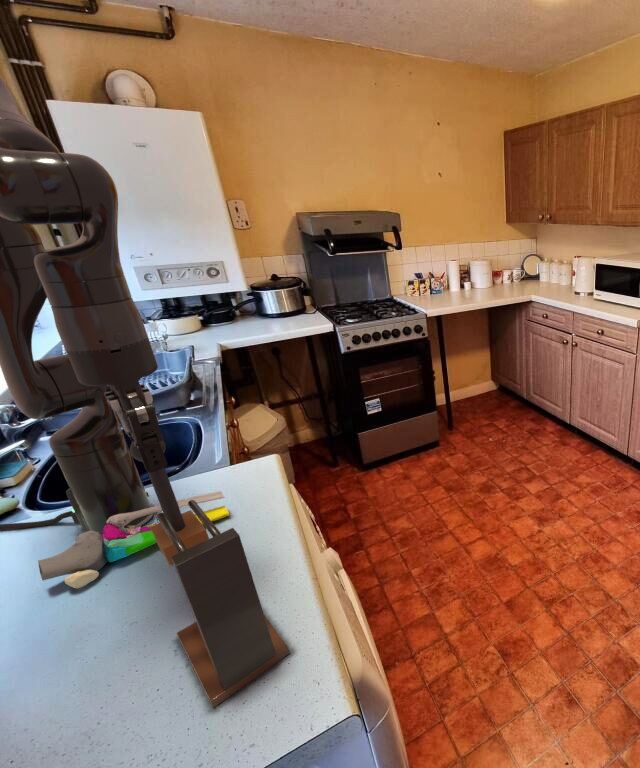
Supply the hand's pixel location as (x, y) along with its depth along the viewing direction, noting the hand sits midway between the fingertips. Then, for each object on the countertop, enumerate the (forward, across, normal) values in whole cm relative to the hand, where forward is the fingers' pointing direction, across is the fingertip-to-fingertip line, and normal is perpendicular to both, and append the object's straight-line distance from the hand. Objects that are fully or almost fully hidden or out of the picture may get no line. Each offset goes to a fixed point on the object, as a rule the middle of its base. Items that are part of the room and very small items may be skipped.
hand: (153, 463), depth 58 cm
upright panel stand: (+24, +12, 0) cm, 26 cm away
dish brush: (+14, 0, 0) cm, 14 cm away
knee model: (+24, -19, -3) cm, 31 cm away
